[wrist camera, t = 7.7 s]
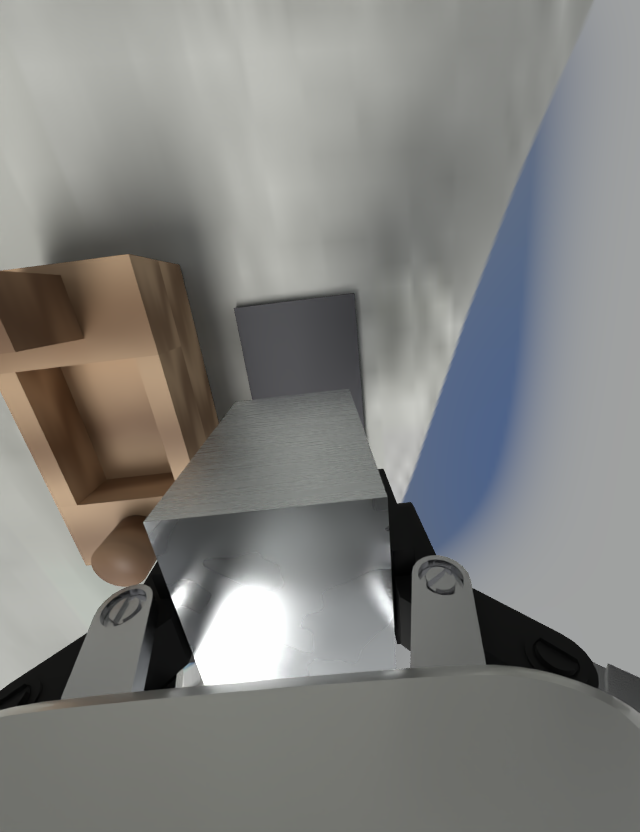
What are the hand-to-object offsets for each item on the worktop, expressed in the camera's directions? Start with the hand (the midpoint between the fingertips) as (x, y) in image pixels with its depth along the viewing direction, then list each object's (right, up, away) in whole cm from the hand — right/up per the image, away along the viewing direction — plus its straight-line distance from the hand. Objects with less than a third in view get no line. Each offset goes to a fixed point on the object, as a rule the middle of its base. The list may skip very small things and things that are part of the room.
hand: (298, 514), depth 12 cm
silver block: (0, +1, +3) cm, 4 cm away
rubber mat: (0, +5, +12) cm, 13 cm away
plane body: (-12, +4, +12) cm, 18 cm away
